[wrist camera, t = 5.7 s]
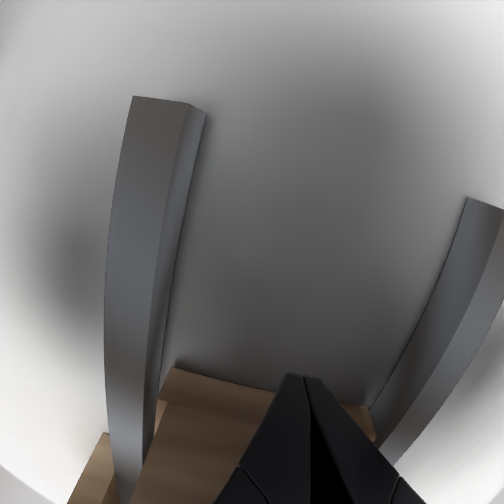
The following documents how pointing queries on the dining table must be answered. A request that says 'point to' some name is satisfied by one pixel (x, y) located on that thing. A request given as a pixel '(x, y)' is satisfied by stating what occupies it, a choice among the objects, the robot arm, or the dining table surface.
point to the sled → (205, 437)
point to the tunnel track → (159, 287)
